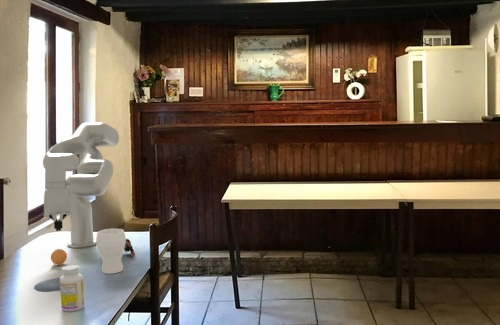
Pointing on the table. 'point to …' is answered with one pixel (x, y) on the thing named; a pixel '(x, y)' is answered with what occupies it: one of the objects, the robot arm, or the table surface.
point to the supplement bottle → (71, 289)
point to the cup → (111, 249)
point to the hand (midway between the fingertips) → (58, 230)
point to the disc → (48, 285)
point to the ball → (58, 256)
